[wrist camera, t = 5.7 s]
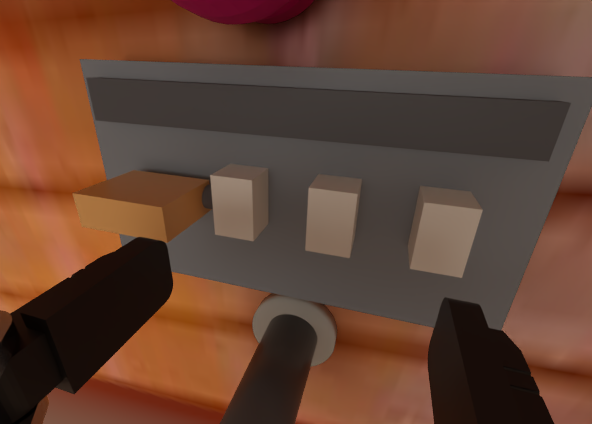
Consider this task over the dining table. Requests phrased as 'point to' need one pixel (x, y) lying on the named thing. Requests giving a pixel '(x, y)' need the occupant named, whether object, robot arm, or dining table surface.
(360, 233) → the breaker panel
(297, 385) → the grey-capped dumbbell
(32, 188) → the dining table surface
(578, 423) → the dining table surface
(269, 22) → the pepper mill
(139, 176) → the main breaker lever
